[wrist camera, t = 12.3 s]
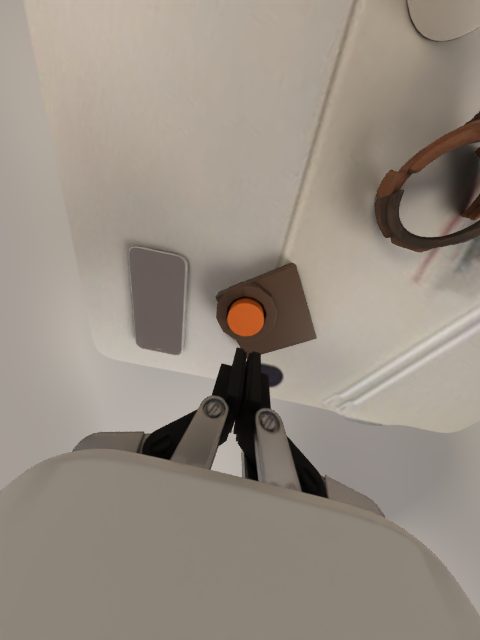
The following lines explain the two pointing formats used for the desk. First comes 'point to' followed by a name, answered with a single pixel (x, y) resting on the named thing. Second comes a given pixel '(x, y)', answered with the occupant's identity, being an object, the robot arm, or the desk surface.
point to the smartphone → (158, 298)
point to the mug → (444, 17)
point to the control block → (271, 310)
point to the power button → (245, 317)
